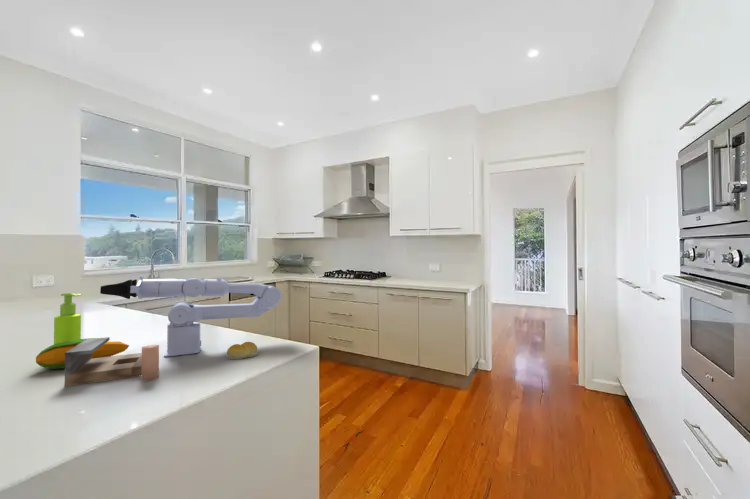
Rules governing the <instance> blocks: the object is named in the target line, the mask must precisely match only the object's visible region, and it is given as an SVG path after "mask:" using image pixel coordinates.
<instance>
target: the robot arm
mask: <svg viewBox="0 0 750 499" xmlns="http://www.w3.org/2000/svg"><path fill="white" fill-rule="evenodd" d="M99 290H100V292H99V293H100V295H101V294H102V295H107V296H115V297H122V298H125V299H126V300H131V297H132V298H138V299H146V298H147V299H148V298H149V299H151V298H173V297H174V298H175V297H185V296H187V297H190V298H191V297H192V298H197V297H199V296H202V297H224V296H225V295H226V294H228V293H229V294H230V293H231V294H232V293H235V294H253V295H255V296H256V298H255V299H254V300H253V301H252V302H250V303H248V302H247V303H225V304H190V303H188V302H184V301H181V302H177V303H174V304H173V305H172V306H171V309H170V310H169V312H168V315H167V318H168V322H169V323H167V327H166V328H167V333H166V334H167V336H166V337H167V342H166V344H167V345H166V351H165V353H164V355H163V357H164V358H167V357H168V358H169V357H174V356H177V357H178V356H183V355H191V354H199V353H200V351H201V347H202V340H201V323H195V322H199V321H206V320H221V319H222V320H223V319H224V320H225V319H240V318H255V317H260V316H262V315H263V314H265V313H267V312H268V311H269V310H272V309H274V308H276V307H277V306H278V304H279V303H280V302H281V300H282V298H283V293H282V291H281V289H280V288H278V287H276V286H273V285H270V284H262V283H256V282H255V283H253V282H252V283H243V282H241V283H239V282H238V283H236V282H235V283H233V282H232V283H229V282H227V280H226V279H222V278H221V277H216V279H215V278H214V279H212V278H205V277H200V280H199V279H198V278H195V277H189V278H187V279H185V278H182V279H181V278H180V279H178V278H158V279H157V278H152V279H151V278H149V279H147V278H145V279H144V275H140V276H139V279H128V280H125V281H122V282H118V283H113V284H106V285H101V286H100V289H99Z"/></svg>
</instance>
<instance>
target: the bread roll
mask: <svg viewBox="0 0 750 499" xmlns="http://www.w3.org/2000/svg"><path fill="white" fill-rule="evenodd" d="M258 354H259V351H258V346H257V345H256V343H254V342H253V341H245V342H243V343H242V344H240V343H236V344H235V343H234V344H233V345H230V346H229V347H228V348H227V351H226V357H227V358H228V359H230V360H242V359H243V358H244V359H247V358H248V357H249V358H252V356H253V357H255V356H257V355H258ZM244 359H243V360H244Z"/></svg>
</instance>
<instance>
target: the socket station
mask: <svg viewBox="0 0 750 499" xmlns="http://www.w3.org/2000/svg"><path fill="white" fill-rule="evenodd" d="M94 338H95V339H88V338H86V339H87V340H85V341H83V342H82V343H80V344H78V345H77V346H75V347H74V348H72V349H70V350H69V351H67V352H66V353H65V368H64V386H63V387H70V386H78V385H85V384H92V383H99V382H107V381H113V380H120V379H127V378H135V377H142V352H137V353H126V354H120V355H113V356H109V357H100V358H92V359H91V353H93V352H94V351H95V350H97V349H98V348H99V347H101V346H102V345H103V344H105V343H106V342H110V339H111V337H109V336H106V337H94Z"/></svg>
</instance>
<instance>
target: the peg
mask: <svg viewBox="0 0 750 499" xmlns="http://www.w3.org/2000/svg"><path fill="white" fill-rule="evenodd" d="M141 353H142V375H141V378H140V379H141V381H142V382H147V381H148V382H149V381H150V382H151V381H154V380H156V379H158V378H159V377H160V345H159V344H149V345H144V346H142V347H141Z"/></svg>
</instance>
